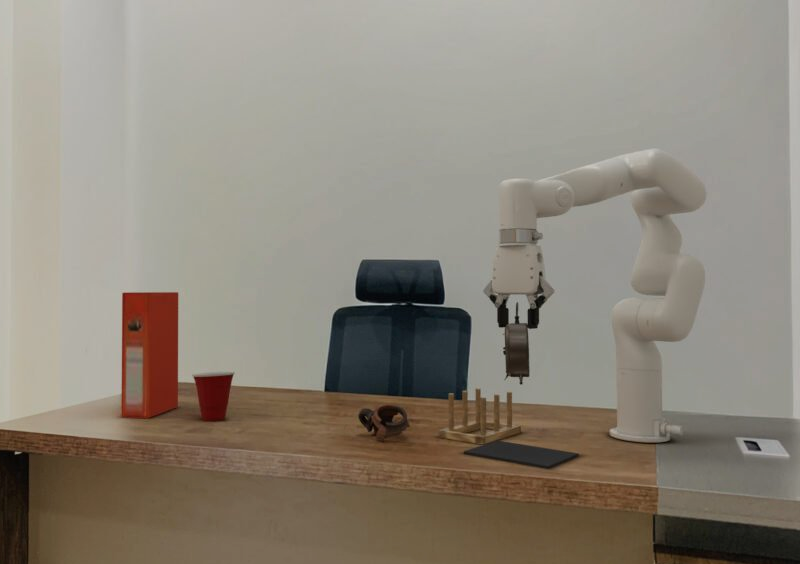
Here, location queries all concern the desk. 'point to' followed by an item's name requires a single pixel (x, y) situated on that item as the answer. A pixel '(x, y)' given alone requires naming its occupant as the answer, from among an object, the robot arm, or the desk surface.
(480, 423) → the dowel rack
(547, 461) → the desk mat
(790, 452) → the desk surface
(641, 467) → the desk surface
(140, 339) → the file binder
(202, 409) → the plastic cup
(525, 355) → the alarm clock
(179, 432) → the desk surface
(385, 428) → the pottery mug
